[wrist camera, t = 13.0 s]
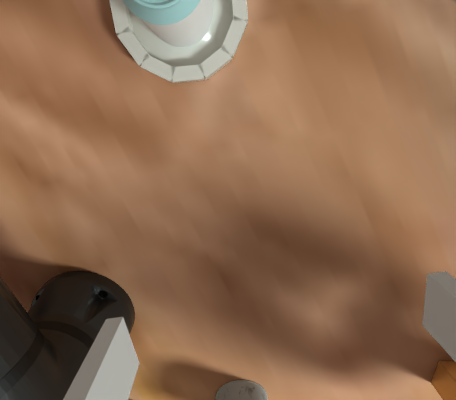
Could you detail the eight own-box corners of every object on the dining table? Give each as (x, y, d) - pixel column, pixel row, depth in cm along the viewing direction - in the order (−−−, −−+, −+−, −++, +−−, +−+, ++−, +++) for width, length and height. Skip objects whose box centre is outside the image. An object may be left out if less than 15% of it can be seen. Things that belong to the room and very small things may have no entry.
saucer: (132, 87, 34) (126, 86, 31) (104, -59, 29) (95, -71, 27) (249, 75, 33) (251, 74, 31) (240, -74, 28) (241, -88, 26)
